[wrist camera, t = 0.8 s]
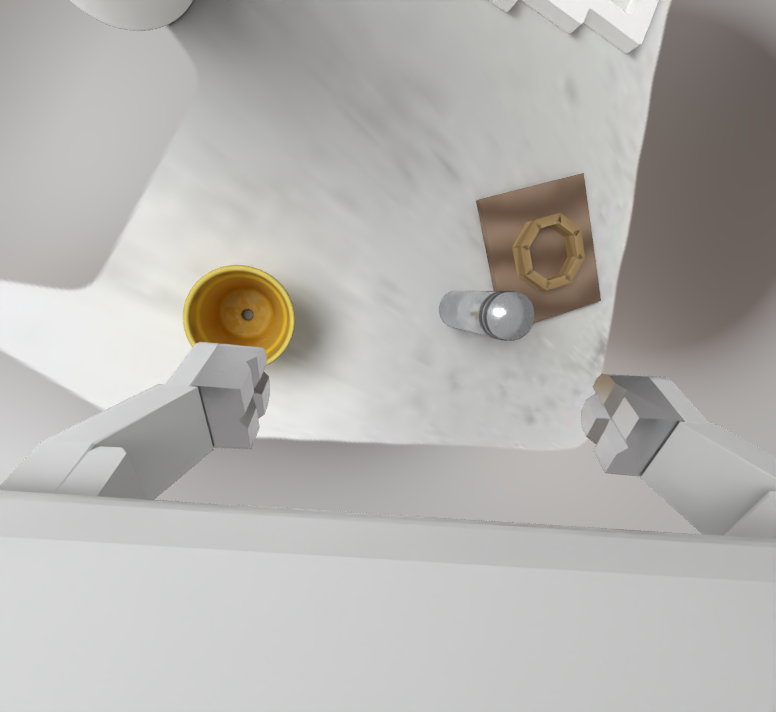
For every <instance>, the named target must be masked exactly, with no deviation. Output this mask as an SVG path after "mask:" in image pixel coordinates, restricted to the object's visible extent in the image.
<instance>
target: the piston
mask: <svg viewBox="0 0 776 712" xmlns="http://www.w3.org/2000/svg"><path fill="white" fill-rule="evenodd" d="M439 313H440V317H441V319H442V320H443V322H444V323H445V324H447V325H448V326H450V327H454V328H458V329H462V330H466V331H471V332H475V333H479V334H483V335H487V336H490V337H492V338H496V339H500V340H506V341H507V340H508V341H514V340H518V339H520V338H522V337H523V336H525V335H526V334H527V333H528V331H529V330H530V329H531V327H532V324H533V321H534V308H533V305H532V303H531V301H530V300H529V299H528V297H526V296H525V295H523V294H521V293H518V292H514V291H497V292H493V291H452V292H449V293H448V294H446V295H445V296H444V297H443V299H442V301H441V303H440V307H439Z"/></svg>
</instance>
